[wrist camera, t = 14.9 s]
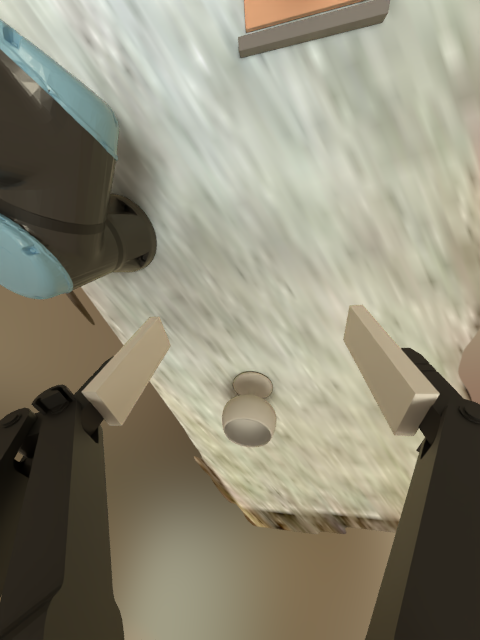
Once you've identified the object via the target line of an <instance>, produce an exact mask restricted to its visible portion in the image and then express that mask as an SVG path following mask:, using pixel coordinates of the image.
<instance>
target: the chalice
mask: <svg viewBox="0 0 480 640" xmlns="http://www.w3.org/2000/svg"><path fill="white" fill-rule="evenodd" d="M233 387H234V389H235V391H236V392H237V393H238V394H239V396H236V397H234V398H232V399H231V400H229V401H228V402H227V404H226V405H225V407H224V410H223V415H222V424H223V430H224V433H225V435H226V436H227V437H228V438H229V439H230V440H231V441H232V442H234V443H236V444H239V445H241V446H246V447H259V446H263V445H265V444H267V443H268V442H269V441H270V440H271V438H272V436H273V434H274V431H275V427H276V414H275V411H274V409H273V407H272V406H271V405H270V404H269V403H268V402H267V401H266V400H264V398H266V397H268V396H269V395H270V394H271V393H272V390H273V385H272V383H271V381H270V380H269V379H268V378H267V377H266V376H264V375H262V374H260V373H256V372H245V373H242V374H239V375H238V376H237V377H236V378H235V379H234V381H233Z"/></svg>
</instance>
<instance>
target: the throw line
mask: <svg viewBox="0 0 480 640" xmlns="http://www.w3.org/2000/svg"><path fill="white" fill-rule="evenodd" d="M389 4H390V0H374V1H370V2H367V3H363V4H359V5H355V6H352V7H348V8H344V9H341V10H337V11H333V12H330V13H326V14H322V15H319V16H315V17H311V18H307V19H304V20H300V21H296V22H293V23H289V24H285V25H282V26H278V27H274V28H270V29H267V30H263V31H259V32H256V33H252V34H248V35H245V36H241V37H238V42H239V53H240V57H241V58H243V57H247V56H251V55H255V54H259V53H263V52H267V51H271V50H275V49H279V48H283V47H287V46H291V45H294V44H298V43H302V42H306V41H310V40H314V39H318V38H322V37H326V36H330V35H334V34H338V33H342V32H346V31H350V30H354V29H358V28H362V27H366V26H370V25H374V24H378V23H382V22H383V20H384V19H385V17H386V15H387V14H388V10H389Z"/></svg>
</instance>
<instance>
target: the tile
mask: <svg viewBox="0 0 480 640" xmlns="http://www.w3.org/2000/svg"><path fill="white" fill-rule="evenodd" d="M361 1H365V0H244V5H245V23H246V33H247V32H251V31H254V30H258V29H262V28H265V27H269V26H273V25H277V24H280V23H284V22H288V21H291V20H295V19H299V18H302V17H306V16H310V15H313V14H317V13H321V12H324V11H328V10H332V9H335V8H339V7H343V6H346V5H350V4H354V3H357V2H361Z"/></svg>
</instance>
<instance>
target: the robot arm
mask: <svg viewBox="0 0 480 640" xmlns="http://www.w3.org/2000/svg"><path fill="white" fill-rule="evenodd" d="M118 135H119V124H118V120H117V118H116V116H115V114H114V112H113V110H112V109H111V108H110V106H109V105H108V104H107V103H106V102H105V101H103V100H102V99H101V98H100V97H99V96H98V95H96V94H95V93H94V92H93V91H92V90H90V89H89V88H88V87H87V86H85V85H84V84H83V83H82V82H81V81H79V80H78V79H77V78H76V77H74V76H73V75H72V74H71V73H69V72H68V71H67V70H66V69H64V68H63V67H62V66H61V65H59V64H58V63H57V62H55V61H54V60H53V59H52V58H50V57H49V56H48V55H47V54H45V53H44V52H43V51H42V50H40V49H39V48H38V47H36V46H35V45H34V44H32V43H31V42H30V41H29V40H27V39H26V38H24V37H23V36H21V35H20V34H19V33H18V32H17V31H16V30H14V29H13V28H12V27H10V26H9V25H8V24H6V23H5V22H4V21H2V20H1V19H0V285H2V286H4V287H5V288H7V289H9V290H10V291H13V292H15V293H17V294H19V295H22V296H25V297H28V298H33V299H48V298H52V297H54V296H57V295H60V294H64V293H69V292H71V291H72V290H74V289H76V288H78V287H81V286H83V285H85V284H87V283H89V282H92V281H94V280H96V279H98V278H100V277H103V276H105V275H107V274H109V273H111V272H135V271H138V270H140V269H142V268H144V267H146V266H147V265H148V264H149V263H150V262H151V261H152V260H153V258H154V255H155V252H156V236H155V232H154V229H153V226H152V224H151V222H150V220H149V219H148V217H147V215H146V214H145V213H144V212H143V210H142V209H141V208H140V207H139V206H138V205H137V204H135V203H134V202H133V201H131V200H130V199H128V198H126V197H123V196H120V195H116V194H111V188H112V182H113V175H114V169H115V163H116V161H118V156H117V144H118ZM343 340H344V342H345V344H346V346H347V348H348V349H349V351H350V353H351V355H352V357H353V359H354V361H355V363H356V364H357V366H358V368H359V370H360V372H361V374H362V376H363V378H364V380H365V381H366V383H367V385H368V387H369V389H370V391H371V393H372V395H373V396H374V398H375V400H376V402H377V404H378V406H379V408H380V410H381V411H382V413H383V415H384V417H385V419H386V421H387V423H388V425H389V426H390V428H391V430H392V432H393V434H394V435H404V436H414V435H415V434H416V432H417V430H418V429H419V428H420V430H421V431H422V433H423V435H424V436H425V438H424V440H423V441H422V443H421V444H420V446H419V447H418V449H417V450H416V451H418V452H419V455H418V459H417V462H416V466H415V469H414V473H413V476H412V480H411V483H410V487H409V490H408V493H407V497H406V500H405V504H404V507H403V511H402V514H401V518H400V521H399V525H398V528H397V531H396V535H395V539H394V542H393V545H392V549H391V552H390V556H389V559H388V563H387V566H386V569H385V573H384V576H383V580H382V583H381V587H380V590H379V594H378V597H377V601H376V604H375V607H374V611H373V615H372V618H371V622H370V625H369V628H368V632H367V635H366V638H365V640H480V405H479V404H478V403H476V402H473V401H469V400H466V399H463V398H462V397H461V396H460V394H459V393H458V392H457V391H456V390H455V389H454V388H453V387H452V386H451V385H450V384H449V383H448V382H447V381H446V380H445V379H444V378H443V377H442V376H441V375H440V374H439V373H438V372H436V370H435V369H434V367H433V366H432V365H429V362H428V361H427V360H426V359H425V358H424V357H423V356H422V355H421V354H419V353H417V352H416V351H414V350H413V349H411V348H400V347H399V346H398V345H397V344H396V343H395V342H394V340H393V339H392V338H391V337H390V336H389V335H388V333H387V332H386V331H385V330H384V329H383V328H382V327H381V325H380V324H379V323H378V322H377V321H376V320H375V319H374V317H373V316H372V315H371V314H370V313H369V312H368V310H367V309H366V308H365V307H364V306H363V305H351V306H349V312H348V317H347V323H346V328H345V333H344V339H343ZM170 346H171V345H170V342H169V340H168V337H167V335H166V332H165V330H164V327H163V325H162V322H161V320H160V317H150V318H149V319H148V320H147V321H146V322H145V323H144V324H143V325H142V326H141V327H140V329H139V330H138V331H137V332H136V333H135V334H134V335H133V336H132V337H131V338H130V339H129V341H128V342H127V343H126V344H125V345H124V346H123V347H122V348H121V349H120V350H119V351H118V353H117V354H116V355H115V356H113V357H111V358H110V359H108V360H107V361H106V362H104V363H103V364H102V366H101V367H100V368H99V369H98V370H97V371H96V372H95V373H94V374H93V376H91V377H90V378H89V379H88V380H87V381H86V383H85V384H84V385H83V386H82V387H81V388H80V389H79V390H78V391H77V392H76V393H75V394H74V395H73V394H72V392H71V391H70V390H69V389H68V388H67V387H66V386H65V385H57V386H54V387H51V388H49V389H47V390H46V391H44V392H43V393H41V394H40V395H38V396H37V398H36V399H35V400H34V401H33V403H32V405H33V406H34V407H35V408H36V409H37V410H38V411H39V412H38V413H35V414H34V413H33V412H32V411H31V410H30V409H28V408H22V409H18V410H16V411H14V412H11V413H10V414H8V415H6V416H5V417H4V418H3V419H2V420H0V597H1V595H2V597H1V601H0V640H124V631H123V624H122V618H121V614H120V610H119V608H118V606H117V604H116V602H115V600H114V596H113V588H112V571H111V557H110V541H109V526H108V509H107V493H106V478H105V463H104V447H103V431H102V427H101V426H100V423H101V422H102V421H103V419H104V420H105V421H106V422H107V423H108V425H111V426H122V425H123V423H124V421H125V420H126V418H127V416H128V415H129V413H130V412H131V410H132V408H133V407H134V405H135V403H136V402H137V400H138V399H139V397H140V395H141V394H142V392H143V390H144V389H145V387H146V385H147V384H148V382H149V381H150V379H151V377H152V376H153V374H154V372H155V371H156V369H157V367H158V366H159V364H160V362H161V361H162V359H163V358H164V356H165V354H166V353H167V351H168V349H169V348H170ZM18 452H19V453H20V454H22V455H23V458H22V459H21V461H20V462H18V461H16V460H15V459H14V458H15V456H16V454H17V453H18Z"/></svg>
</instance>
